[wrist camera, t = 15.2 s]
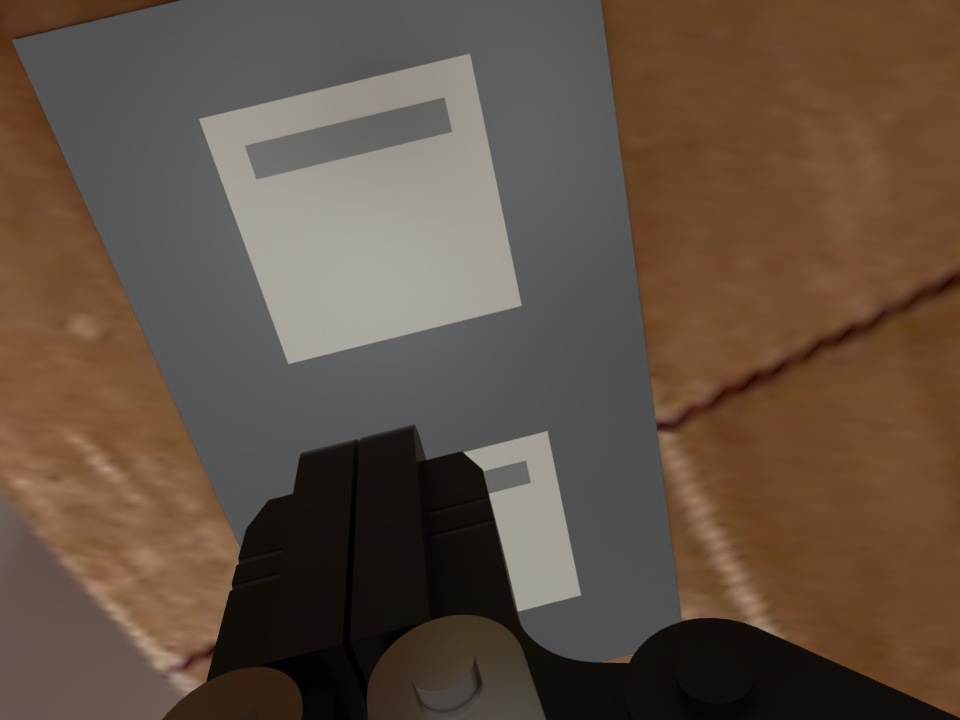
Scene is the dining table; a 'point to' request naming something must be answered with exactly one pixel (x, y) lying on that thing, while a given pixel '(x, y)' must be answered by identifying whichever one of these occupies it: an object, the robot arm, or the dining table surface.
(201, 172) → the label panel
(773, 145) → the dining table surface
